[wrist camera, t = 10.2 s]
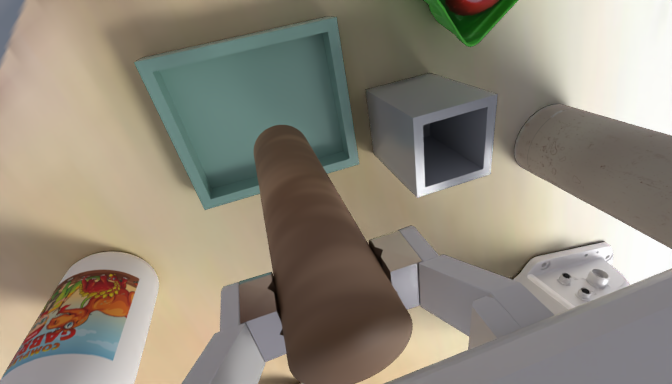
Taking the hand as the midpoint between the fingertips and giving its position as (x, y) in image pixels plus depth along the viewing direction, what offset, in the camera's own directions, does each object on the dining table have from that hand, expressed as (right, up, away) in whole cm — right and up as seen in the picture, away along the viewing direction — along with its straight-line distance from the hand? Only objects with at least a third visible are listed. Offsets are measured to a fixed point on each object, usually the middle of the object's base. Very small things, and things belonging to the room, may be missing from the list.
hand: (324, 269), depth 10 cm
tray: (-6, +9, +17) cm, 20 cm away
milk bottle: (-21, -6, +21) cm, 30 cm away
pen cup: (+7, +10, +21) cm, 24 cm away
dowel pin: (-3, +5, +8) cm, 10 cm away
